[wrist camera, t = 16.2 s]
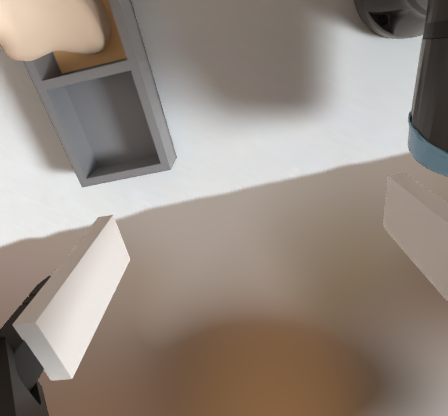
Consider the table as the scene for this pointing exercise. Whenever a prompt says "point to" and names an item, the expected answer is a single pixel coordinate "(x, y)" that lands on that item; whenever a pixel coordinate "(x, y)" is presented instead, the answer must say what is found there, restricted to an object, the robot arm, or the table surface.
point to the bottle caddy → (106, 105)
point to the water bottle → (53, 27)
